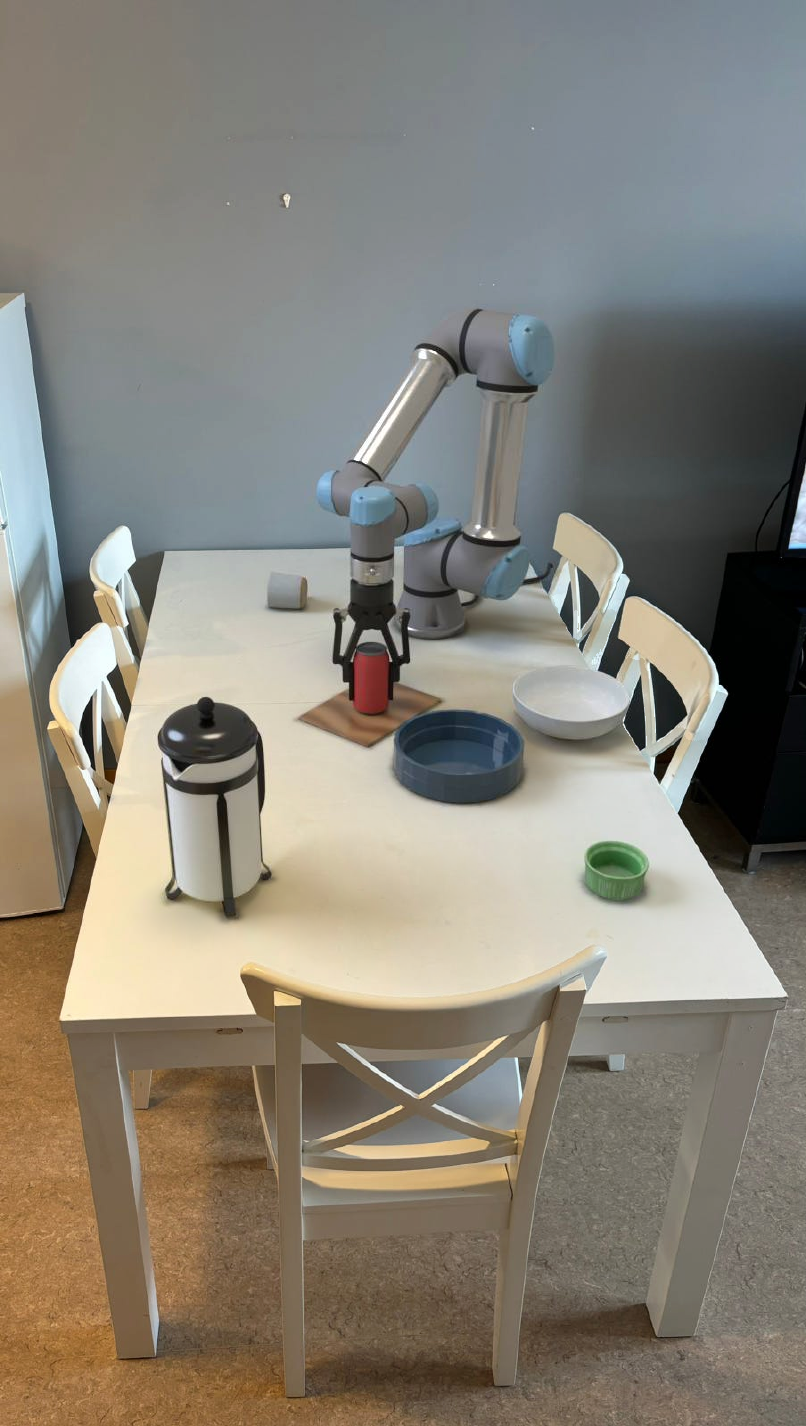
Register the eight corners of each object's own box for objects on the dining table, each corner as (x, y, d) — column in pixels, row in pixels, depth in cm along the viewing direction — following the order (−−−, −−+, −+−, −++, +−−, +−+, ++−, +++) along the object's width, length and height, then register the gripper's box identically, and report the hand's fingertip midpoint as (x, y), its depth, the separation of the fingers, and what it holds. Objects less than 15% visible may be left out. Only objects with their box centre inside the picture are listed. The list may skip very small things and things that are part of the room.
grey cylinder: (304, 614, 235) (303, 581, 232) (266, 612, 236) (265, 579, 232) (310, 596, 245) (310, 564, 241) (274, 594, 245) (273, 562, 241)
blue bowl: (441, 724, 193) (443, 697, 191) (545, 763, 182) (548, 735, 180) (367, 773, 178) (367, 745, 175) (475, 819, 167) (477, 789, 164)
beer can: (384, 717, 194) (385, 657, 188) (349, 713, 195) (348, 653, 189) (392, 701, 199) (393, 642, 194) (357, 697, 200) (357, 638, 195)
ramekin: (603, 910, 148) (607, 884, 146) (569, 873, 155) (572, 848, 153) (657, 894, 152) (661, 869, 149) (621, 859, 159) (625, 834, 157)
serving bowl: (496, 740, 189) (498, 706, 185) (525, 689, 206) (528, 657, 203) (614, 764, 182) (619, 728, 179) (634, 709, 200) (639, 676, 196)
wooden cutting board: (373, 676, 209) (373, 674, 209) (441, 701, 201) (441, 698, 201) (298, 719, 194) (298, 716, 194) (367, 747, 186) (367, 745, 185)
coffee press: (289, 909, 147) (282, 717, 133) (171, 929, 143) (150, 733, 128) (266, 838, 162) (258, 657, 147) (158, 854, 157) (139, 670, 143)
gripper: (314, 586, 181) (317, 707, 192) (430, 586, 182) (425, 706, 193) (315, 570, 188) (317, 687, 199) (426, 570, 189) (422, 687, 200)
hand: (370, 696), depth 196 cm, fingers closed on beer can, 6 cm apart
